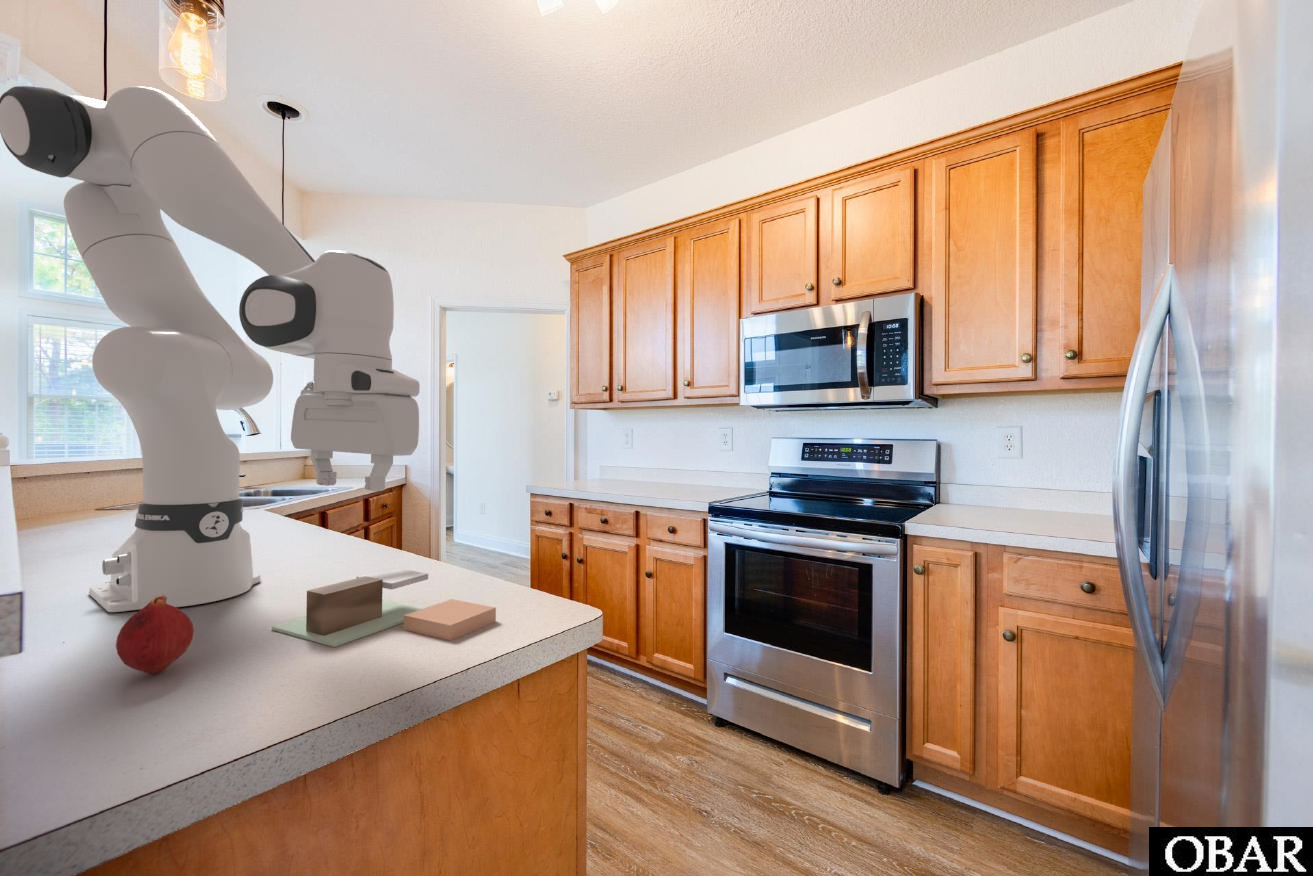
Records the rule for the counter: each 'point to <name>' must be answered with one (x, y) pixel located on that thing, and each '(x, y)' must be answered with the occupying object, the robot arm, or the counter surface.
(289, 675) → the counter surface
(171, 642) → the onion
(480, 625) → the tile
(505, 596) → the counter surface
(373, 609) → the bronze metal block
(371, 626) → the plate
